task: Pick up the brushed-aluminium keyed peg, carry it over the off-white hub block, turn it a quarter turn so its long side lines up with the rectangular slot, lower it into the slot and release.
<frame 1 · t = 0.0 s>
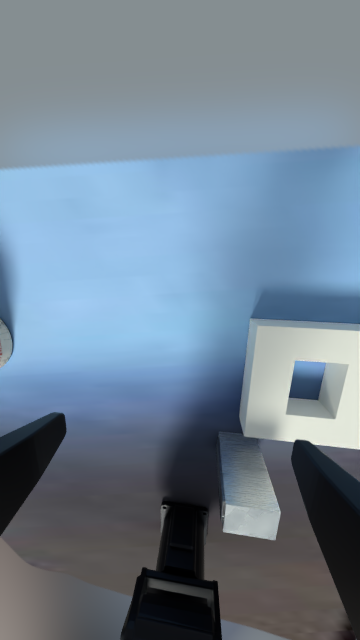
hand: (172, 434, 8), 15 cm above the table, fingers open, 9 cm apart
hub block: (300, 374, 22), on the table
keyed peg: (235, 444, 25), on the table
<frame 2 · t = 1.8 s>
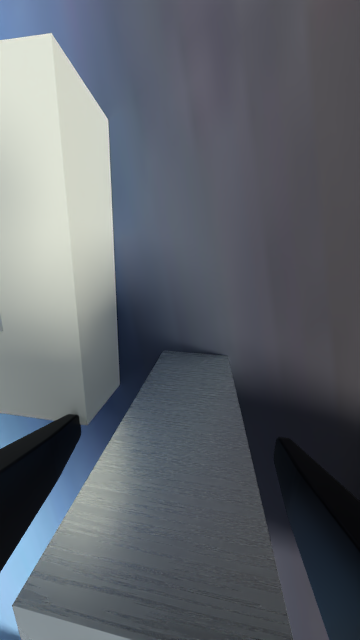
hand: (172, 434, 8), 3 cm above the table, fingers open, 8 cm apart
hub block: (4, 268, 10), on the table
keyed peg: (192, 392, 10), on the table
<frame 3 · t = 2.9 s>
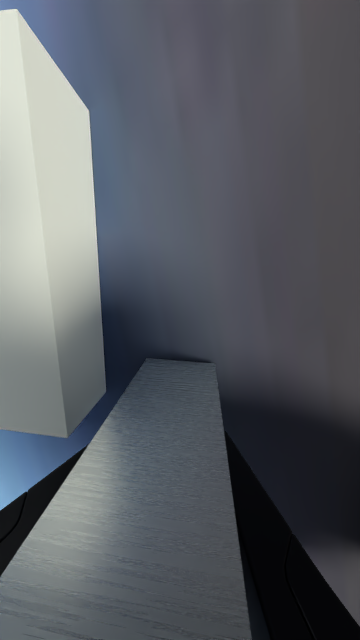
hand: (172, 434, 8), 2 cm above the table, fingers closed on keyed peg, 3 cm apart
keyed peg: (178, 402, 10), on the table, touching gripper
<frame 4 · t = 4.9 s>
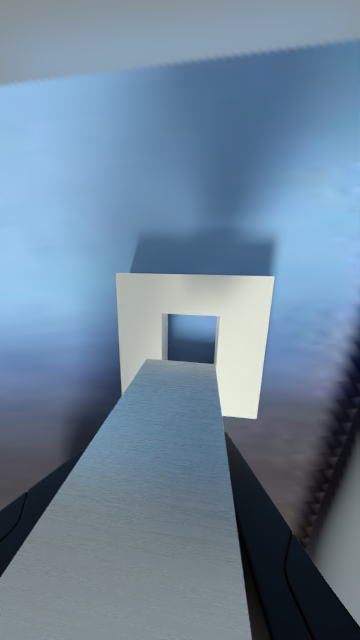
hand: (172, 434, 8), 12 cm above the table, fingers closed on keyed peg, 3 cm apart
hub block: (191, 337, 19), on the table
keyed peg: (178, 402, 10), point 10 cm above the table, touching gripper
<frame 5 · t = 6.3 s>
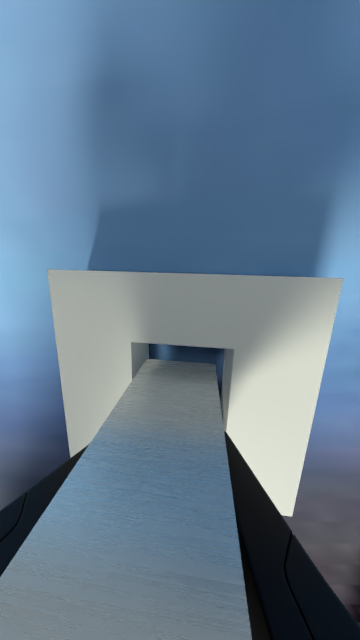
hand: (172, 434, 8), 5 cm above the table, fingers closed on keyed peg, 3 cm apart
hub block: (185, 372, 12), on the table
keyed peg: (178, 402, 10), point 3 cm above the table, touching gripper
when the fingers open (4 cm above the table, at t = 7.1 s): keyed peg drops 2 cm, resting in hub block.
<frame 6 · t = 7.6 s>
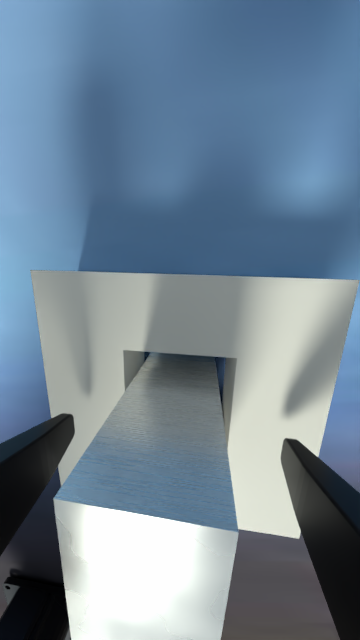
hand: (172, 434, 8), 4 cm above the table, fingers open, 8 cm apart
hub block: (183, 380, 12), on the table
keyed peg: (182, 381, 12), resting in hub block
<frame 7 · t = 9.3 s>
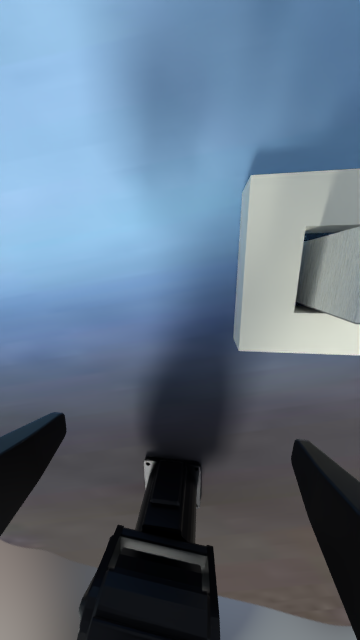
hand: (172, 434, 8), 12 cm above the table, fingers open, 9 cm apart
hub block: (312, 271, 16), on the table
keyed peg: (311, 272, 16), resting in hub block
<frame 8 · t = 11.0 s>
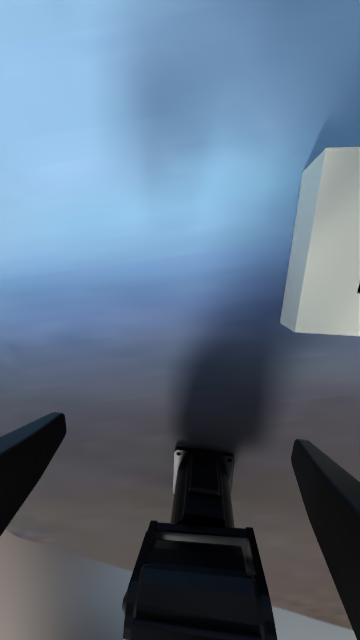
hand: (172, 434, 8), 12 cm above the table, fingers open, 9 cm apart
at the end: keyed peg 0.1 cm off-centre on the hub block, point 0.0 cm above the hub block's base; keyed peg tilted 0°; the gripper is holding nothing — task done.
